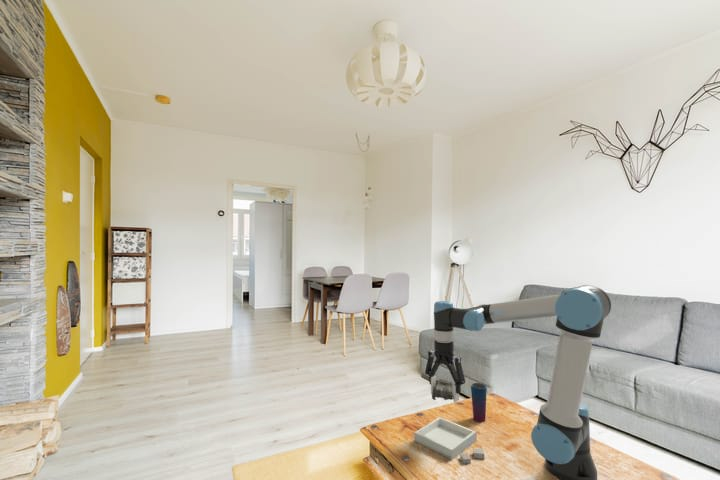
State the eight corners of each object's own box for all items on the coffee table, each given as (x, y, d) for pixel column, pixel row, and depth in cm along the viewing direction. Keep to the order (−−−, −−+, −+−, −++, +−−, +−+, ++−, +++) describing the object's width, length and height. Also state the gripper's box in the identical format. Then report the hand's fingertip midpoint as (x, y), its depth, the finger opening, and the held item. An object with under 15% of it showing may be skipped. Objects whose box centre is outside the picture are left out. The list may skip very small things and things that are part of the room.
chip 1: (470, 464, 121) (470, 458, 121) (463, 464, 121) (463, 459, 121) (467, 458, 124) (467, 453, 124) (460, 458, 124) (460, 453, 124)
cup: (471, 422, 151) (470, 387, 151) (471, 415, 157) (470, 381, 158) (488, 424, 149) (487, 389, 149) (487, 416, 155) (486, 383, 156)
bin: (476, 440, 136) (476, 431, 136) (452, 460, 123) (452, 450, 123) (439, 425, 148) (439, 417, 148) (414, 441, 135) (414, 432, 136)
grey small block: (483, 455, 126) (483, 449, 126) (484, 459, 124) (484, 453, 124) (473, 454, 127) (473, 448, 127) (474, 458, 124) (473, 452, 125)
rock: (453, 406, 130) (452, 389, 130) (430, 403, 132) (429, 386, 133) (455, 393, 142) (455, 377, 143) (434, 390, 145) (434, 375, 145)
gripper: (474, 343, 132) (475, 402, 131) (426, 334, 148) (427, 386, 147) (464, 347, 126) (465, 409, 126) (415, 337, 143) (416, 391, 142)
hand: (444, 396), depth 136 cm, fingers closed on rock, 10 cm apart
